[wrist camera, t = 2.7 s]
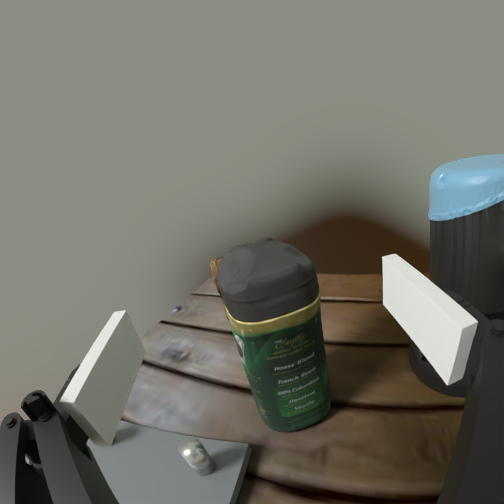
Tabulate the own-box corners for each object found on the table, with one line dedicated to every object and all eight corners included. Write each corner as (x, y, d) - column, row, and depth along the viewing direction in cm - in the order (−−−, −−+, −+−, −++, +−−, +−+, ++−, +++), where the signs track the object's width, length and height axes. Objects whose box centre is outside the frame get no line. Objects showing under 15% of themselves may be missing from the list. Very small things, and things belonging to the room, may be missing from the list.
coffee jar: (342, 416, 26) (330, 255, 20) (270, 443, 25) (218, 290, 19) (308, 364, 35) (284, 224, 29) (249, 385, 34) (205, 247, 28)
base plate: (107, 421, 31) (86, 393, 29) (251, 450, 25) (238, 422, 23) (37, 527, 13) (3, 505, 11) (193, 615, 7) (161, 616, 5)
